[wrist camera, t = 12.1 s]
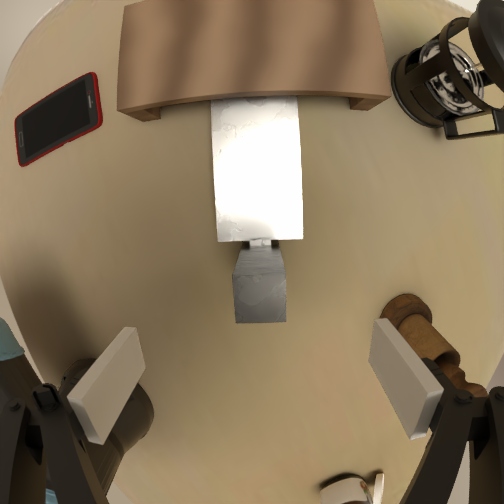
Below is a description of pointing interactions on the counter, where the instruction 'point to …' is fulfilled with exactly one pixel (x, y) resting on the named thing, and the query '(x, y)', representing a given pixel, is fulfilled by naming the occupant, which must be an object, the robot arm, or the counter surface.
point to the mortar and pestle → (427, 339)
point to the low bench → (249, 52)
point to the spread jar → (351, 491)
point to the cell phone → (58, 119)
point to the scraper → (257, 196)
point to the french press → (456, 72)
